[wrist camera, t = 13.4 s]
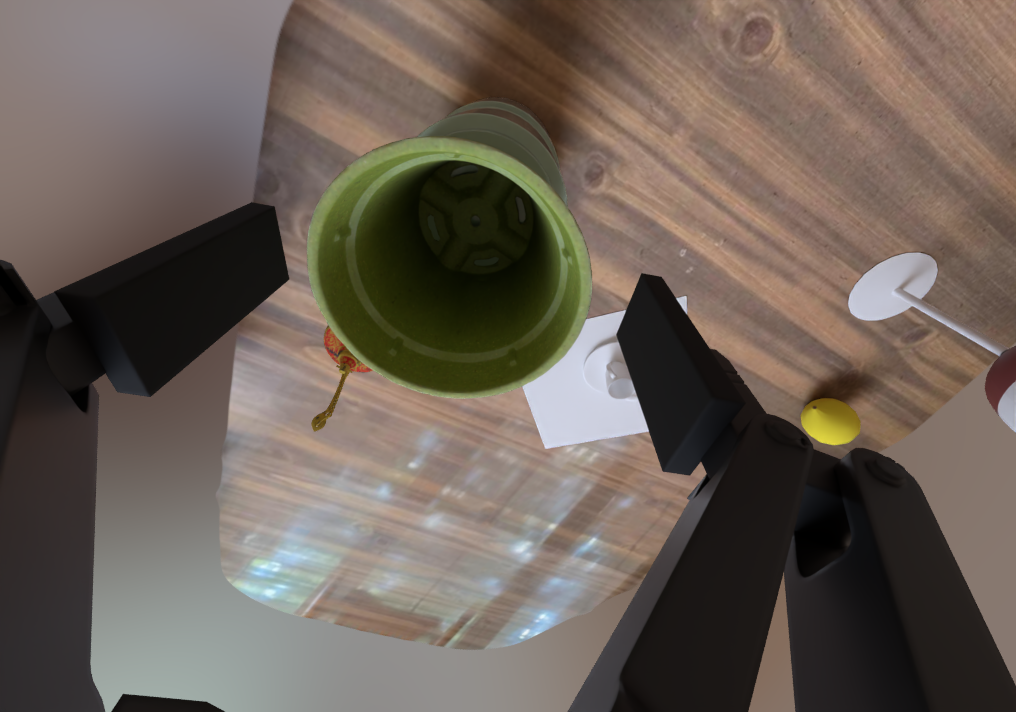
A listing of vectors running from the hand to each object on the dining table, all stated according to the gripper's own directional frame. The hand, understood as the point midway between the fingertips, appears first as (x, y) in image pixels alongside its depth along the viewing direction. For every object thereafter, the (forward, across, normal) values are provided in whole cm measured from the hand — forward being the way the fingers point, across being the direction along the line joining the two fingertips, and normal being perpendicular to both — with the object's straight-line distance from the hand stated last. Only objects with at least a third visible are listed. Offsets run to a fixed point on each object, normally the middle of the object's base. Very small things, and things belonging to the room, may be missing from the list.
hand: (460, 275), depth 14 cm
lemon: (+23, +44, -20) cm, 54 cm away
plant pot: (+7, 0, 0) cm, 7 cm away
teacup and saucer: (+23, +17, -22) cm, 36 cm away
